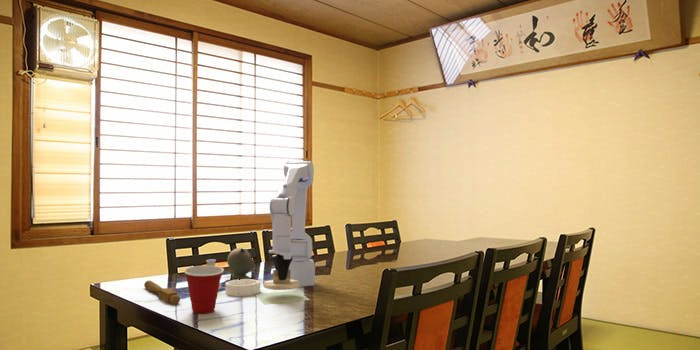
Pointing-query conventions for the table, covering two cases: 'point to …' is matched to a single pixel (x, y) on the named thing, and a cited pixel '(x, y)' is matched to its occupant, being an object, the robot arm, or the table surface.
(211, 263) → the flask
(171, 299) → the tap handle
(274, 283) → the lid
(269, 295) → the mat
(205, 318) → the table surface
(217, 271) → the plastic cup
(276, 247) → the robot arm
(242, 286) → the bowl
